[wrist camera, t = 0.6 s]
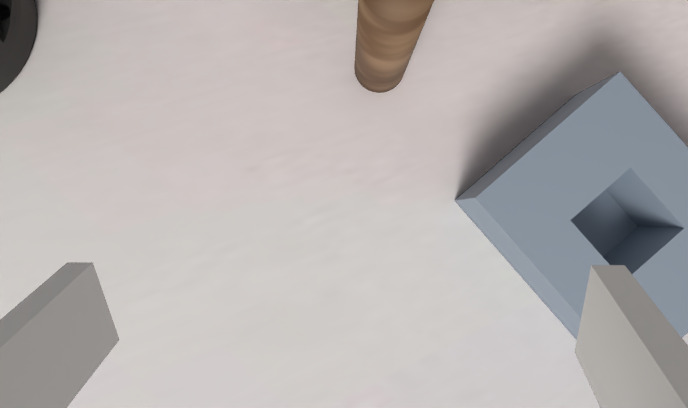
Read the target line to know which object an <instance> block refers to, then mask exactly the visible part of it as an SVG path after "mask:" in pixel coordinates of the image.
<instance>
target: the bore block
mask: <svg viewBox="0 0 688 408" xmlns="http://www.w3.org/2000/svg"><path fill="white" fill-rule="evenodd" d="M455 202H456V203H457V204H458V205H459V206H460V207H461V208H462V210H463V211H464V212H465V213H466V214H467V215H468V216H469V218H470V219H471V220H472V221H473V222H474V223H475V224H476V226H477V227H478V228H479V229H480V230H481V231H482V232H483V234H484V235H485V236H486V237H487V238H488V239H489V240H490V242H491V243H492V244H493V245H494V246H495V247H496V248H497V249H498V251H499V252H500V253H501V254H502V255H503V256H504V257H505V259H506V260H507V261H508V262H509V263H510V264H511V265H512V267H513V268H514V269H515V270H516V271H517V272H518V273H519V275H520V276H521V277H522V278H523V279H524V280H525V281H526V283H527V284H528V285H529V286H530V287H531V288H532V289H533V291H534V292H535V293H536V294H537V295H538V296H539V297H540V299H541V300H542V301H543V302H544V303H545V304H546V305H547V306H548V308H549V309H550V310H551V311H552V312H553V313H554V314H555V316H556V317H557V318H558V319H559V320H560V321H561V322H562V324H563V325H564V326H565V327H566V328H567V329H568V330H569V332H570V333H571V334H572V335H573V336H574V337H575V338H576V340H577V336H578V331H579V326H580V321H581V315H582V310H583V305H584V300H585V295H586V290H587V284H588V279H589V274H590V269H591V265H625V266H626V267H627V269H628V270H629V271H630V273H631V274H632V275H633V276H634V278H635V279H636V280H637V282H638V283H639V284H640V285H641V287H642V288H643V289H644V290H645V292H646V293H647V294H648V296H649V297H650V298H651V299H652V301H653V302H654V303H655V304H656V306H657V307H658V308H659V310H660V311H661V312H662V313H663V315H664V316H665V317H666V319H667V320H668V321H669V322H670V324H671V325H672V326H673V327H674V329H675V330H676V331H677V333H678V334H679V335H680V336H681V338H682V337H683V336H684V335H685V334H687V333H688V147H687V146H686V145H685V144H684V142H683V141H682V140H681V139H680V138H679V137H678V136H677V135H676V133H675V132H674V131H673V130H672V129H671V128H670V127H669V126H668V124H667V123H666V122H665V121H664V120H663V119H662V118H661V117H660V116H659V114H658V113H657V112H656V111H655V110H654V109H653V108H652V107H651V105H650V104H649V103H648V102H647V101H646V100H645V99H644V98H643V96H642V95H641V94H640V93H639V92H638V91H637V90H636V89H635V88H634V86H633V85H632V84H631V83H630V82H629V81H628V80H627V79H626V77H625V76H624V75H623V74H622V73H621V72H618V73H616V74H614V75H612V76H610V77H608V78H606V79H605V80H603V81H601V82H599V83H597V84H595V85H593V86H591V87H589V88H587V89H585V90H583V91H582V92H580V93H578V94H576V95H575V96H574V97H573V98H571V99H570V100H569V101H568V102H567V103H566V104H565V105H563V106H562V107H561V108H560V109H559V110H558V111H557V112H555V113H554V114H553V115H552V116H551V117H550V118H549V119H547V120H546V121H545V122H544V123H543V124H542V125H540V126H539V127H538V128H537V129H536V130H535V131H534V132H532V133H531V134H530V135H529V136H528V137H527V138H526V139H524V140H523V141H522V142H521V143H520V144H519V145H518V146H516V147H515V148H514V149H513V150H512V151H511V152H510V153H508V154H507V155H506V156H505V157H504V158H503V159H502V160H500V161H499V162H498V163H497V164H496V165H495V166H494V167H492V168H491V169H490V170H489V171H488V172H487V173H486V174H484V175H483V176H482V177H481V178H480V179H479V180H478V181H476V182H475V183H474V184H473V185H472V186H471V187H470V188H468V189H467V190H466V191H465V192H464V193H463V194H462V195H460V196H459V197H458V198H457V199H456V200H455Z"/></svg>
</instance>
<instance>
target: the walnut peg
mask: <svg viewBox="0 0 688 408" xmlns="http://www.w3.org/2000/svg"><path fill="white" fill-rule="evenodd" d="M433 2H434V0H359V1H358V18H357V35H356V51H355V75H356V77H357V80H358V81H359V83H360V84H361V85H362V86H363V87H364V88H366V89H367V90H369V91H372V92H377V93H381V92H387V91H389V90H391V89H393V88H394V87H396V86H397V85H398V84H399V82H400V81H401V79H402V77H403V74H404V72H405V70H406V67H407V65H408V62H409V60H410V57H411V55H412V53H413V50H414V48H415V45H416V43H417V40H418V38H419V36H420V33H421V31H422V28H423V26H424V23H425V21H426V19H427V16H428V14H429V11H430V9H431V6H432V4H433Z"/></svg>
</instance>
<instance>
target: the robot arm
mask: <svg viewBox="0 0 688 408" xmlns="http://www.w3.org/2000/svg"><path fill="white" fill-rule="evenodd" d="M35 31H36V6H35V0H0V92H2V91H3V90H4V89H5V88H6V87H7V86H8V85H9V84H10V83H11V82H12V81H13V80H14V79H15V77H16V76H17V75H18V73H19V72H20V71H21V69H22V67H23V66H24V64H25V62H26V60H27V58H28V56H29V53H30V51H31V48H32V45H33V41H34V37H35ZM118 341H119V337H118V334H117V331H116V329H115V326H114V323H113V320H112V317H111V314H110V311H109V308H108V305H107V303H106V300H105V297H104V294H103V291H102V288H101V285H100V282H99V279H98V277H97V274H96V271H95V268H94V265H93V263H66V264H65V265H64V266H63V267H62V268H60V269H59V270H58V271H57V272H56V273H55V274H53V275H52V276H51V277H50V278H49V279H48V280H46V281H45V282H44V283H43V284H42V285H41V286H39V287H38V288H37V289H36V290H35V291H34V292H32V293H31V294H30V295H29V296H28V297H27V298H25V299H24V300H23V301H22V302H21V303H20V304H18V305H17V306H16V307H15V308H14V309H12V310H11V311H10V312H9V313H8V314H7V315H5V316H4V317H3V318H2V319H1V320H0V408H67V406H68V405H69V404H70V403H71V401H72V400H73V399H74V397H75V396H76V395H77V394H78V392H79V391H80V390H81V388H82V387H83V386H84V385H85V383H86V382H87V381H88V379H89V378H90V377H91V375H92V374H93V373H94V372H95V370H96V369H97V368H98V366H99V365H100V364H101V363H102V361H103V360H104V359H105V357H106V356H107V355H108V354H109V352H110V351H111V350H112V348H113V347H114V346H115V345H116V343H117V342H118ZM575 354H576V356H577V358H578V360H579V362H580V365H581V367H582V369H583V371H584V373H585V375H586V377H587V380H588V382H589V384H590V386H591V388H592V390H593V392H594V395H595V397H596V399H597V401H598V403H599V405H600V407H601V408H688V345H687V344H686V343H685V341H684V340H683V339H682V338H681V336H680V335H679V334H678V333H677V331H676V330H675V329H674V327H673V326H672V325H671V324H670V322H669V321H668V320H667V319H666V317H665V316H664V315H663V313H662V312H661V311H660V310H659V308H658V307H657V306H656V304H655V303H654V302H653V301H652V299H651V298H650V297H649V296H648V294H647V293H646V292H645V290H644V289H643V288H642V287H641V285H640V284H639V283H638V282H637V280H636V279H635V278H634V276H633V275H632V274H631V273H630V271H629V270H628V269H627V267H626V266H625V265H591V269H590V274H589V279H588V284H587V290H586V295H585V300H584V305H583V310H582V315H581V321H580V326H579V331H578V336H577V341H576V347H575Z"/></svg>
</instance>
